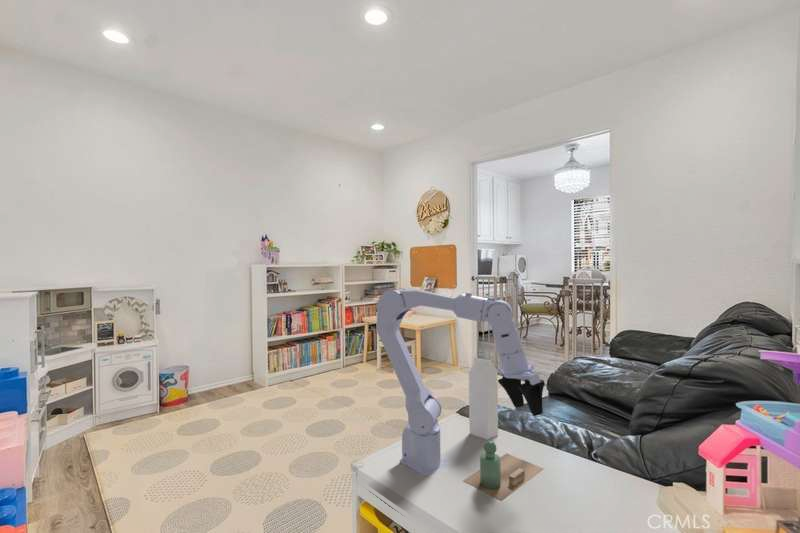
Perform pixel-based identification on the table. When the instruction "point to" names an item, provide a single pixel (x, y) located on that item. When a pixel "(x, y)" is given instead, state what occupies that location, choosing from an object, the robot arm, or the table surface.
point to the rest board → (507, 476)
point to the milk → (483, 399)
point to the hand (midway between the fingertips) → (528, 410)
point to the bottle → (490, 467)
